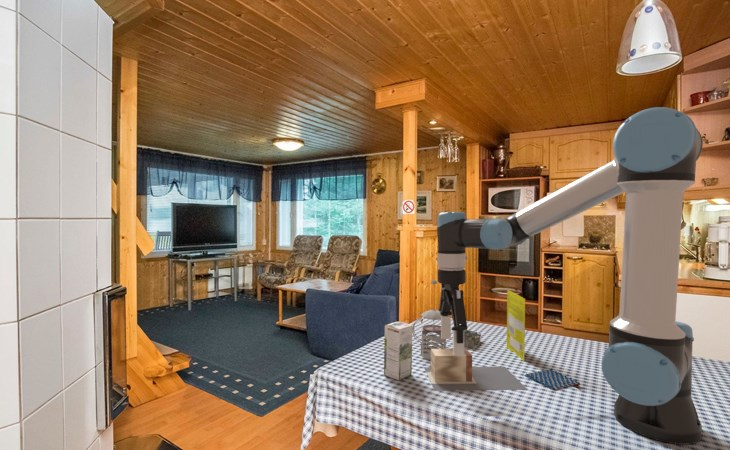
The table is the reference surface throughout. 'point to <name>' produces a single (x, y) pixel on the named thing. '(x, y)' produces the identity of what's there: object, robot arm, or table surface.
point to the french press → (428, 329)
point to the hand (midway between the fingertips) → (451, 346)
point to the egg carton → (471, 338)
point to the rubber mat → (481, 380)
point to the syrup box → (398, 350)
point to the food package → (516, 323)
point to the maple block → (451, 366)
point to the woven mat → (552, 379)
